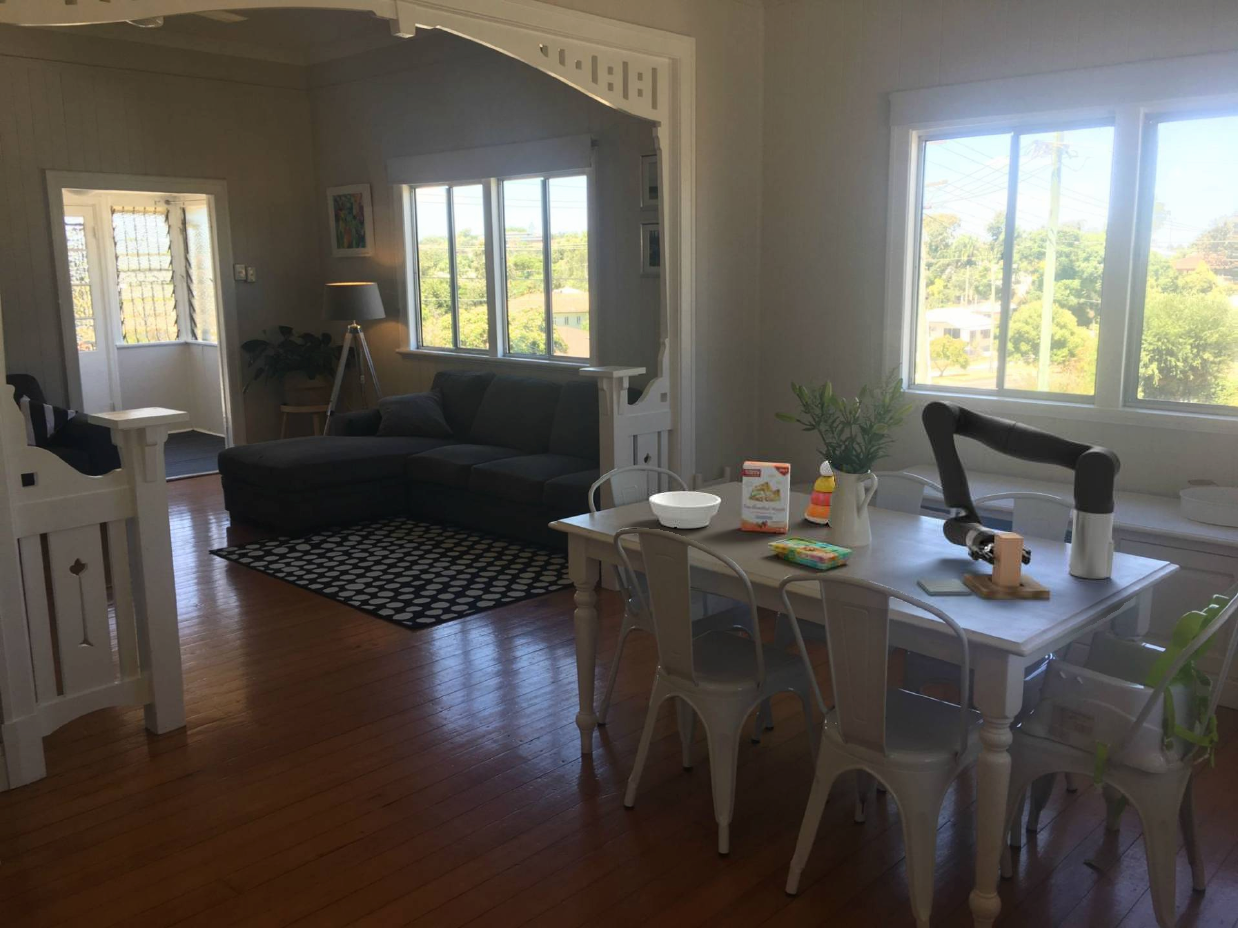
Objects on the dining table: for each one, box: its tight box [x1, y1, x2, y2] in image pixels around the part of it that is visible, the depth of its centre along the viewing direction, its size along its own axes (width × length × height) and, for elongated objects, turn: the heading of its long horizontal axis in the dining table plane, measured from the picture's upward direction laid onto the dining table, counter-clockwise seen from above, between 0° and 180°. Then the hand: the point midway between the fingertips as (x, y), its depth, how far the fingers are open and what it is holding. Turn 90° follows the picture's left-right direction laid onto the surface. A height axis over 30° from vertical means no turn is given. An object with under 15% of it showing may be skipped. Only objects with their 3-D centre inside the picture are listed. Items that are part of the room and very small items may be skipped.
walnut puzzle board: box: [962, 573, 1051, 600], centre depth 249 cm, size 16×14×2 cm
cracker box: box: [740, 460, 791, 534], centre depth 307 cm, size 14×6×21 cm, turn 76°
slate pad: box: [917, 578, 972, 596], centre depth 250 cm, size 10×10×1 cm
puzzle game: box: [766, 536, 853, 570], centre depth 276 cm, size 12×5×20 cm
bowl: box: [648, 491, 722, 529], centre depth 315 cm, size 22×22×8 cm
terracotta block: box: [991, 532, 1024, 587], centre depth 248 cm, size 5×5×14 cm
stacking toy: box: [804, 460, 835, 525], centre depth 319 cm, size 14×14×20 cm
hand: (1010, 560), depth 246 cm, fingers open, 8 cm apart
